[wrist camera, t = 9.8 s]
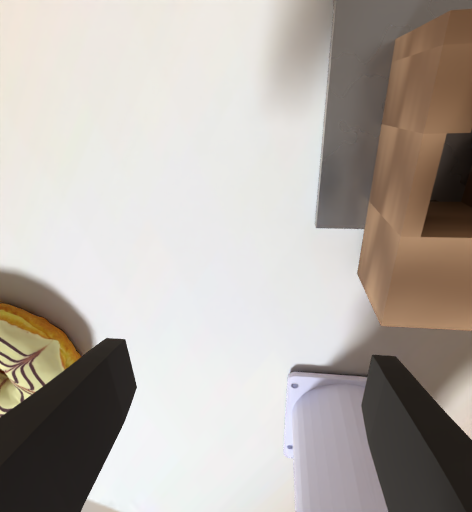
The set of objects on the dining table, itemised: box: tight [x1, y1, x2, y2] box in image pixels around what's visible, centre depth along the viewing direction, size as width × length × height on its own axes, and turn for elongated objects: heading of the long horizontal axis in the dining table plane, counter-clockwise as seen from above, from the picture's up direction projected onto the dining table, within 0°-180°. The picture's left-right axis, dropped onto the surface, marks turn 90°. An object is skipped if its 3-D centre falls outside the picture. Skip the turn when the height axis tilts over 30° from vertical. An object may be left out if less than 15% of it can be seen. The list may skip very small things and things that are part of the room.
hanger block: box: [357, 9, 472, 331], centre depth 13 cm, size 11×5×5 cm, turn 2°
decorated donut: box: [0, 303, 81, 417], centre depth 23 cm, size 10×11×4 cm
